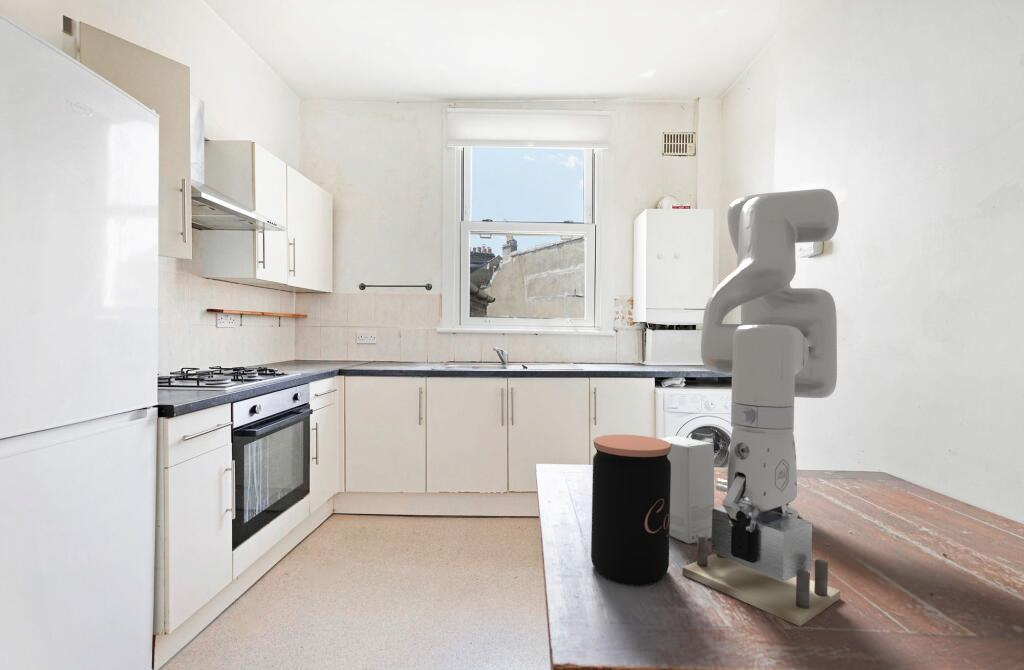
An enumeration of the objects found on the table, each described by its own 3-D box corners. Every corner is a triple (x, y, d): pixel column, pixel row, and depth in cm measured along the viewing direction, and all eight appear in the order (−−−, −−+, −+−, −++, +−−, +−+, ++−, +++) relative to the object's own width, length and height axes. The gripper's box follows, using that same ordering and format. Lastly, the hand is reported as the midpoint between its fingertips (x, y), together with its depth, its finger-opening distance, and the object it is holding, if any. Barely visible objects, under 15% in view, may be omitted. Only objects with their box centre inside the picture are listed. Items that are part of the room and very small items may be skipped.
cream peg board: (682, 574, 72) (683, 538, 72) (726, 555, 79) (726, 522, 79) (800, 626, 60) (801, 582, 60) (840, 598, 66) (841, 559, 66)
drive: (711, 551, 71) (712, 506, 71) (740, 542, 75) (740, 499, 75) (782, 582, 63) (783, 530, 63) (811, 569, 67) (812, 521, 67)
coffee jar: (655, 596, 66) (658, 454, 66) (578, 574, 72) (580, 443, 71) (677, 565, 75) (680, 440, 75) (607, 548, 81) (609, 431, 81)
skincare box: (715, 538, 85) (717, 443, 85) (686, 546, 82) (689, 447, 82) (676, 521, 93) (678, 434, 92) (648, 528, 89) (650, 437, 89)
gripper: (755, 427, 61) (752, 580, 61) (820, 416, 71) (818, 547, 71) (698, 418, 67) (695, 557, 67) (766, 409, 77) (763, 530, 77)
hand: (758, 551), depth 69 cm, fingers closed on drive, 6 cm apart
